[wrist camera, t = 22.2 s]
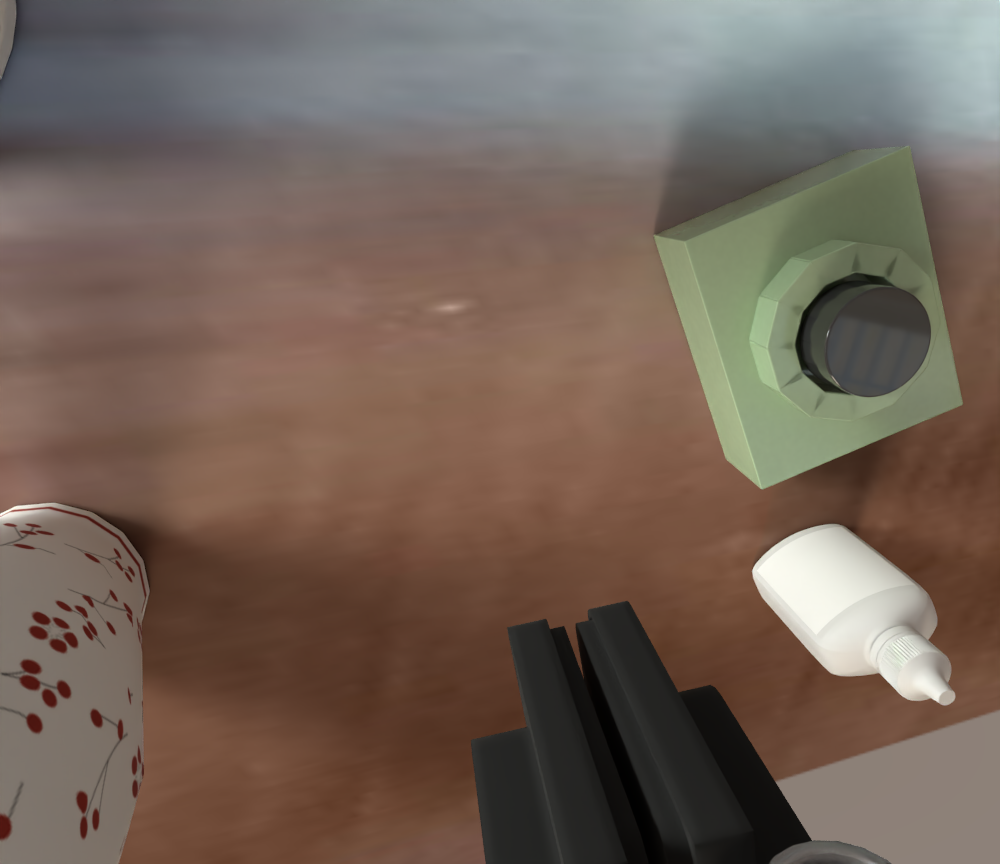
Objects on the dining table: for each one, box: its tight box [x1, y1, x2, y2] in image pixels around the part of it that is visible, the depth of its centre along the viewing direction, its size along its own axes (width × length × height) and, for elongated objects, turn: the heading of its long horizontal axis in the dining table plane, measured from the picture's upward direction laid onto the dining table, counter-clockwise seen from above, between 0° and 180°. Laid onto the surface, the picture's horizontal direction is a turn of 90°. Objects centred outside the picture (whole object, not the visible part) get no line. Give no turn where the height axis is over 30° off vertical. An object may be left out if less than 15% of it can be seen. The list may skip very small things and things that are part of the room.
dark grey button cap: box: [799, 280, 931, 397], centre depth 32 cm, size 4×4×2 cm
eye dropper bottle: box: [752, 524, 955, 705], centre depth 36 cm, size 4×6×12 cm
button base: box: [654, 146, 963, 489], centre depth 35 cm, size 12×10×6 cm
